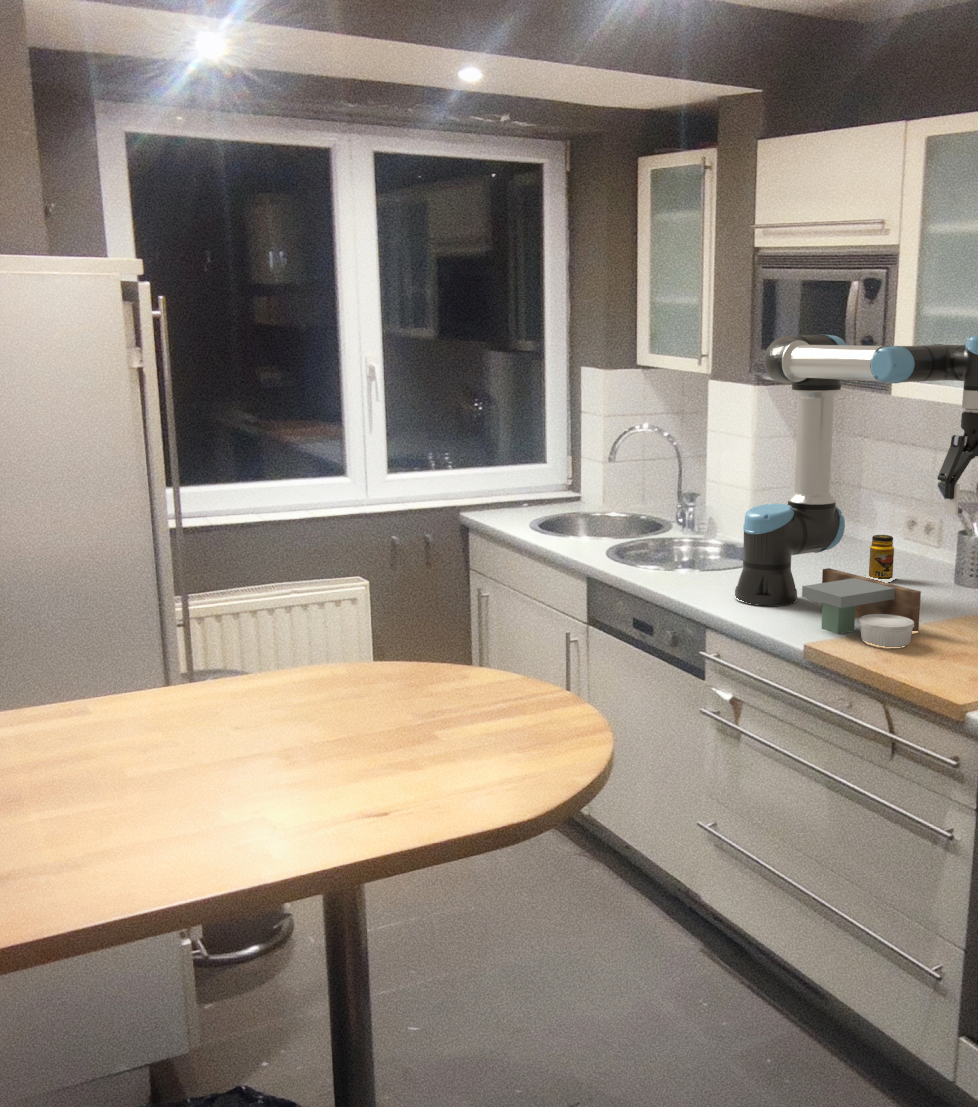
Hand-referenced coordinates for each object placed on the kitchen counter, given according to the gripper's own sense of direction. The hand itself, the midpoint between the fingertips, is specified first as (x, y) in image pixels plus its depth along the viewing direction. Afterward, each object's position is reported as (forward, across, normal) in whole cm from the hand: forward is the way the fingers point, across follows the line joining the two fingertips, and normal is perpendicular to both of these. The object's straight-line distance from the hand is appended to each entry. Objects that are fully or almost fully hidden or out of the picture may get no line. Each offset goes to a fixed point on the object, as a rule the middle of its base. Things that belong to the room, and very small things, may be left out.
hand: (974, 511), depth 234 cm
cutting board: (+28, -6, +22) cm, 36 cm away
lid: (+21, -16, +19) cm, 32 cm away
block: (+28, -18, +19) cm, 38 cm away
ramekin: (+28, -17, +6) cm, 34 cm away
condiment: (+28, +26, +52) cm, 64 cm away
